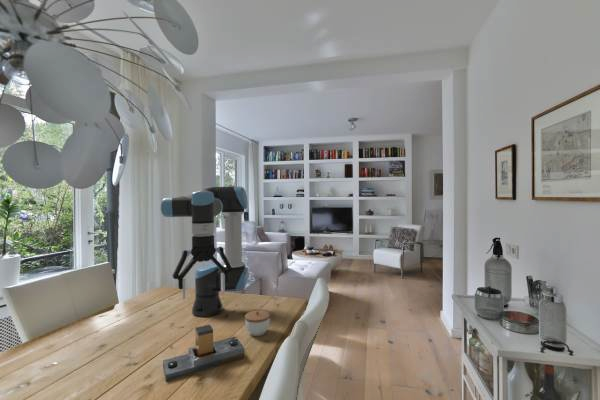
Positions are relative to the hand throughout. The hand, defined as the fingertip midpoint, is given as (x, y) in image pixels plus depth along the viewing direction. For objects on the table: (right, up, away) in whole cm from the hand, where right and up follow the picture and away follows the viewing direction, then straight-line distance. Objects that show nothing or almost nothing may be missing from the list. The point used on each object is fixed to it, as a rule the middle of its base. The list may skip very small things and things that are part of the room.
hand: (203, 294), depth 105 cm
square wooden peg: (0, -24, 0) cm, 24 cm away
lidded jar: (+16, -24, +23) cm, 37 cm away
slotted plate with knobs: (0, -24, 0) cm, 24 cm away
